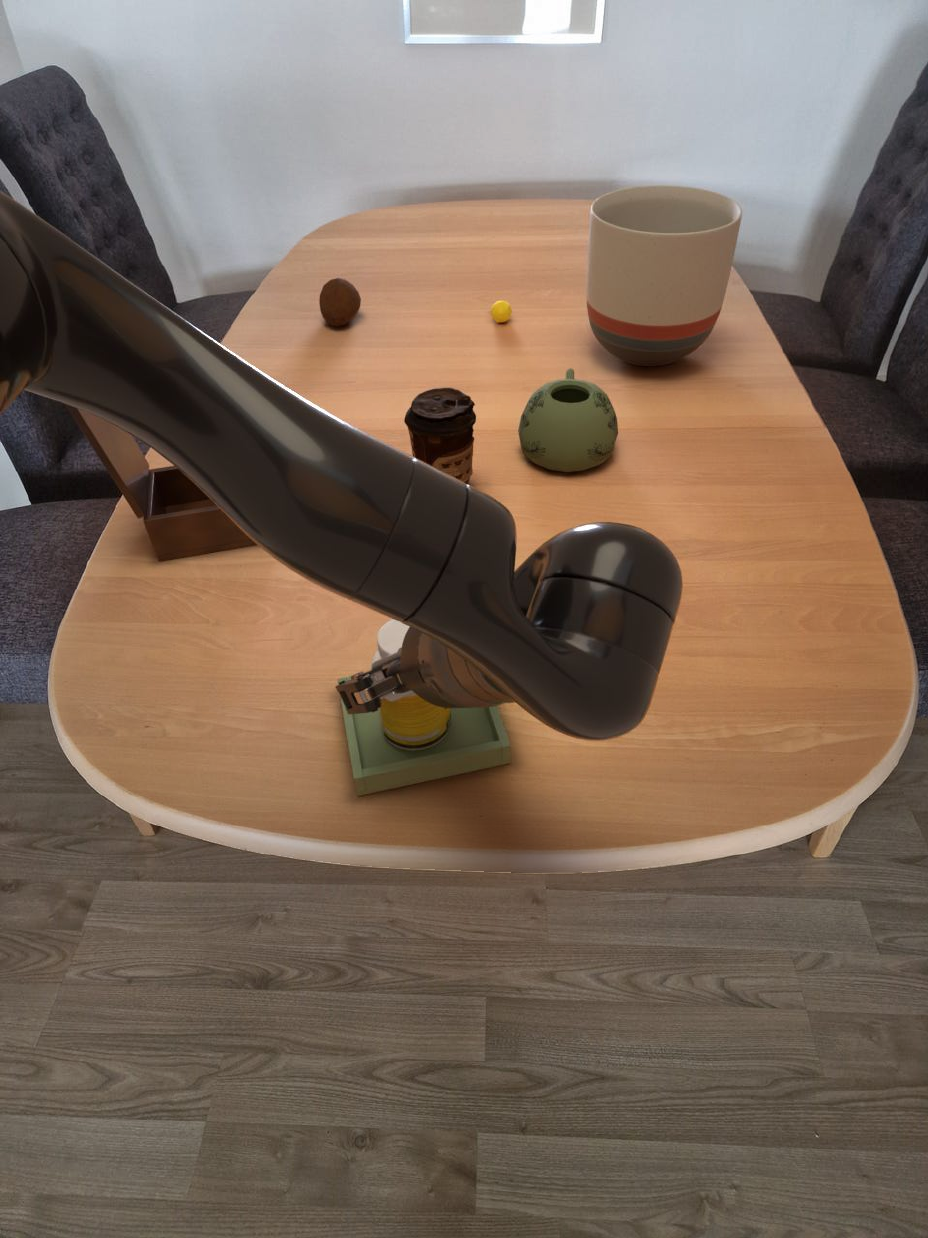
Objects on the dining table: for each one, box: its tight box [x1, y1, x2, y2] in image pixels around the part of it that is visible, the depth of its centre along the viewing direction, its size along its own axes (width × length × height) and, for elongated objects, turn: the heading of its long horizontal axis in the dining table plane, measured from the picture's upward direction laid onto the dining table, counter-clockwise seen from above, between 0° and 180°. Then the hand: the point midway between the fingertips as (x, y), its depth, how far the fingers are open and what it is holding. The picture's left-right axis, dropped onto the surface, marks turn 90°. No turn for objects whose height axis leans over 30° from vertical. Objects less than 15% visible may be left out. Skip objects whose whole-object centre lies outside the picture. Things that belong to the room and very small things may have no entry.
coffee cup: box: [403, 387, 477, 485], centre depth 96 cm, size 9×8×13 cm
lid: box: [63, 403, 150, 519], centre depth 87 cm, size 16×11×1 cm
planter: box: [585, 184, 743, 367], centre depth 118 cm, size 20×20×21 cm
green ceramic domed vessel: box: [517, 367, 619, 473], centre depth 105 cm, size 16×13×9 cm
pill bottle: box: [370, 618, 451, 751], centre depth 70 cm, size 6×6×12 cm
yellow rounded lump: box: [490, 300, 513, 323], centre depth 136 cm, size 3×6×4 cm, turn 2°
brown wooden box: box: [142, 465, 258, 562], centre depth 96 cm, size 15×11×6 cm
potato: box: [318, 277, 362, 327], centre depth 136 cm, size 7×10×7 cm
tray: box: [336, 675, 512, 797], centre depth 73 cm, size 14×12×3 cm
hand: (402, 665), depth 70 cm, fingers open, 8 cm apart
